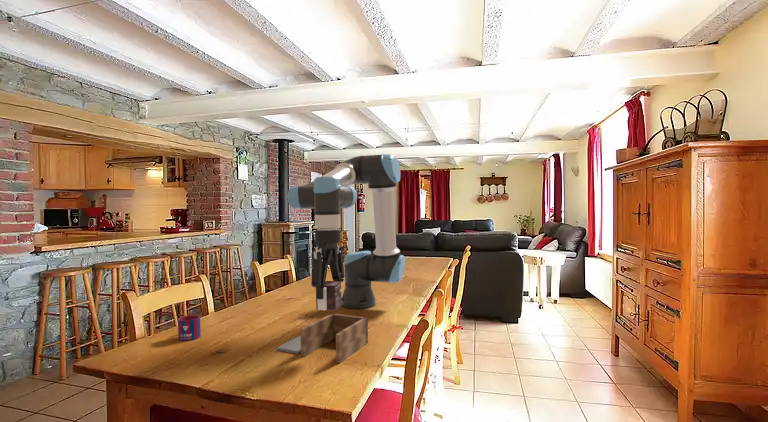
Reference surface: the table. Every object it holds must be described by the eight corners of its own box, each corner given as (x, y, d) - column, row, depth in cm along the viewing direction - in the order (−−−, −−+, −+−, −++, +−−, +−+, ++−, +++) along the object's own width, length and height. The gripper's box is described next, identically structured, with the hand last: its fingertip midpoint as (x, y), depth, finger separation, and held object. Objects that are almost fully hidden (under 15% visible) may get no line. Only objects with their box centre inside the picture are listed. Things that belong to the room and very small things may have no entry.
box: (335, 310, 110) (334, 285, 110) (315, 309, 112) (315, 284, 111) (342, 305, 116) (341, 281, 116) (323, 304, 118) (322, 280, 117)
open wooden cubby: (332, 337, 128) (332, 313, 127) (368, 342, 122) (367, 317, 122) (300, 356, 112) (300, 329, 112) (339, 363, 106) (339, 334, 106)
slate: (301, 337, 128) (301, 334, 128) (321, 340, 125) (321, 338, 125) (277, 350, 117) (277, 347, 117) (298, 353, 114) (298, 351, 114)
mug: (175, 341, 126) (174, 321, 126) (186, 331, 136) (186, 312, 136) (196, 340, 127) (196, 320, 126) (206, 330, 137) (206, 311, 136)
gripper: (334, 226, 124) (336, 297, 124) (296, 231, 106) (298, 314, 106) (354, 226, 121) (356, 299, 121) (319, 232, 103) (321, 317, 103)
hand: (329, 306), depth 114 cm, fingers closed on box, 7 cm apart
